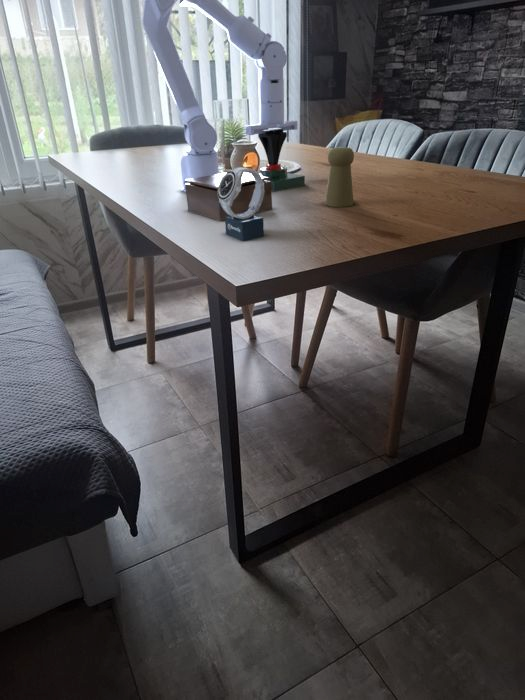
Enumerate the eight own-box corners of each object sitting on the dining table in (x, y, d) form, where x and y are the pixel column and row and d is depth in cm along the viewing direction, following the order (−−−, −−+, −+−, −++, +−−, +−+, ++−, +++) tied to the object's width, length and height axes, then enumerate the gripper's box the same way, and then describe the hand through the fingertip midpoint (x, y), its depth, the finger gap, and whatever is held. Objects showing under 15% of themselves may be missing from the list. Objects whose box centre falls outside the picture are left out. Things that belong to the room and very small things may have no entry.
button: (263, 171, 120) (263, 164, 119) (274, 169, 122) (274, 162, 121) (272, 173, 118) (272, 165, 117) (283, 171, 120) (283, 163, 119)
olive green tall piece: (352, 207, 98) (356, 149, 93) (323, 206, 100) (324, 149, 94) (354, 200, 104) (357, 145, 98) (325, 200, 105) (327, 145, 99)
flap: (235, 172, 105) (235, 170, 105) (270, 179, 97) (270, 177, 97) (211, 176, 102) (211, 174, 101) (245, 183, 93) (245, 181, 93)
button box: (243, 185, 123) (242, 168, 121) (273, 179, 128) (273, 163, 126) (274, 191, 115) (273, 173, 113) (304, 185, 120) (304, 168, 118)
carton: (237, 200, 108) (235, 170, 105) (272, 209, 100) (271, 177, 97) (187, 211, 101) (184, 179, 98) (220, 221, 93) (217, 187, 90)
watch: (216, 236, 84) (210, 169, 79) (254, 227, 88) (251, 163, 82) (233, 243, 80) (228, 173, 75) (272, 234, 84) (270, 167, 78)
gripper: (258, 104, 106) (260, 169, 113) (306, 100, 114) (305, 161, 120) (238, 104, 111) (242, 166, 117) (286, 100, 118) (287, 159, 125)
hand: (273, 164), depth 119 cm, fingers closed, pressing on button
